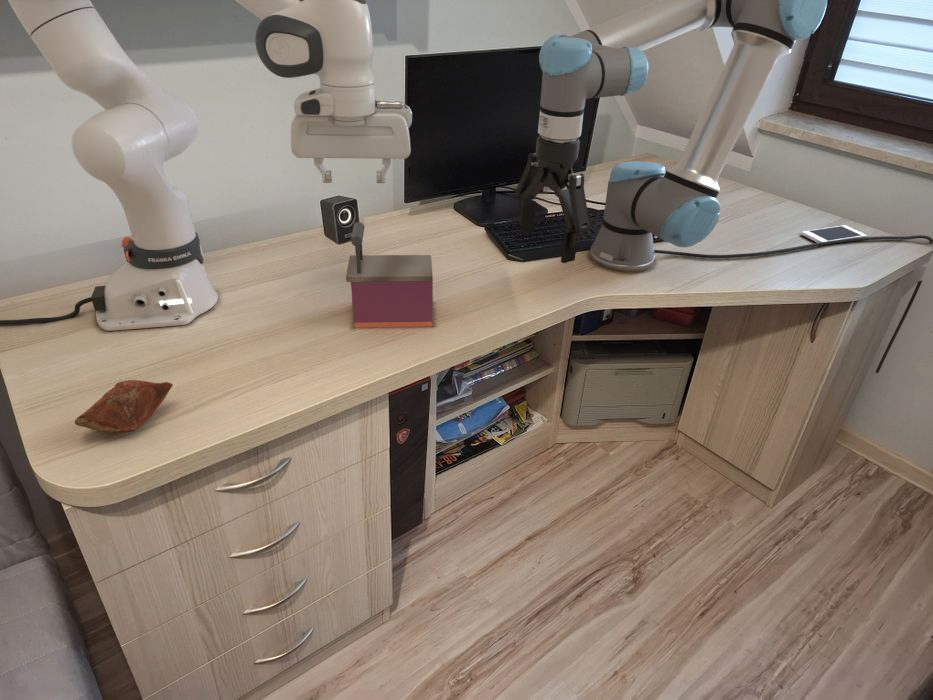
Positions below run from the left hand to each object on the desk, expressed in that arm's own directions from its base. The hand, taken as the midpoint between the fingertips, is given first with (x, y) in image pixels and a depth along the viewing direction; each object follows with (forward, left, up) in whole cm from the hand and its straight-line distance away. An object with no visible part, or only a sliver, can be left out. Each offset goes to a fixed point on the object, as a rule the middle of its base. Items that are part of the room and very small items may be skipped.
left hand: (354, 182), depth 113 cm
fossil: (-42, -19, -28) cm, 54 cm away
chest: (+6, -2, -28) cm, 28 cm away
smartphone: (+128, -3, -28) cm, 131 cm away
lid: (+5, -2, -18) cm, 18 cm away
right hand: (+34, -11, -13) cm, 38 cm away
